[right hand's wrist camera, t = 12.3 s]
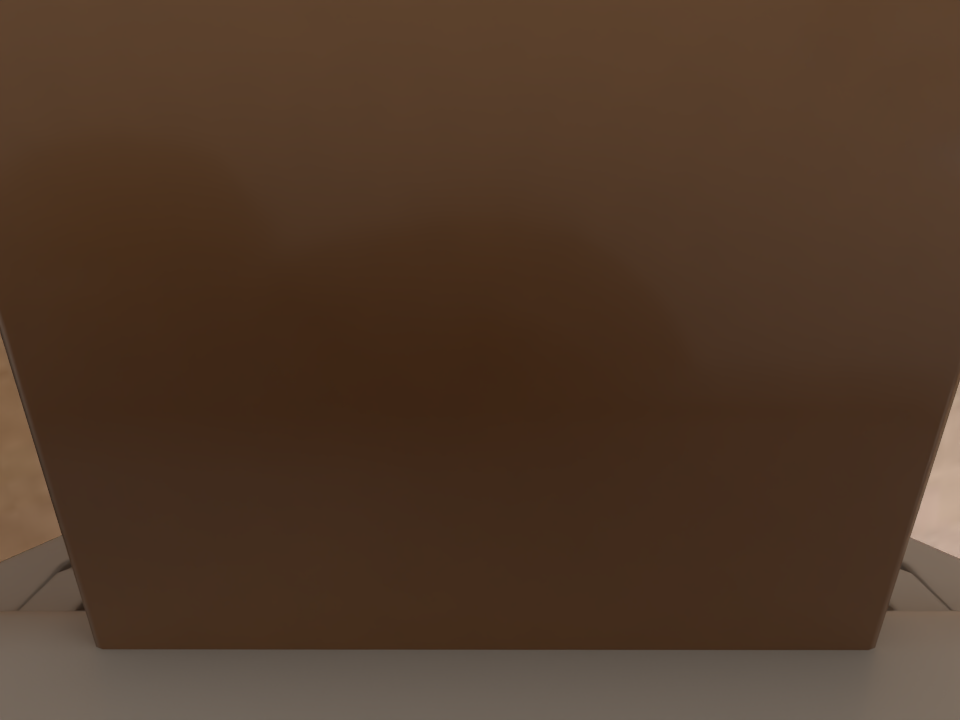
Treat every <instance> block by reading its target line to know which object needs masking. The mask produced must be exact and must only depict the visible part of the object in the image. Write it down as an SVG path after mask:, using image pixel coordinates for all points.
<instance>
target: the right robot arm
mask: <svg viewBox="0 0 960 720" xmlns="http://www.w3.org/2000/svg"><path fill="white" fill-rule="evenodd" d="M0 720H960V559H959V558H957V557H954V556H952V555H950V554H947V553H945V552H943V551H940V550H938V549H936V548H933V547H931V546H929V545H927V544H924V543H922V542H920V541H917V540H915V539H913V538H910V539H909V542H908V545H907V548H906V552H905V555H904V558H903V561H902V564H901V567H900V570H899V574H898V577H897V580H896V583H895V586H894V589H893V593H892V596H891V599H890V602H889V605H888V608H887V611H886V615H885V618H884V621H883V624H882V627H881V630H880V634H879V637H878V640H877V643H876V646H875V648H873V649H870V650H218V649H100V648H98V647H96V644H95V641H94V638H93V635H92V631H91V628H90V625H89V622H88V618H87V615H86V612H85V608H84V605H83V602H82V599H81V595H80V592H79V589H78V585H77V582H76V579H75V576H74V572H73V569H72V566H71V563H70V559H69V556H68V553H67V549H66V546H65V543H64V540H63V536H62V535H61V536H59V537H57V538H55V539H52V540H50V541H48V542H45V543H43V544H41V545H39V546H36V547H34V548H32V549H29V550H27V551H25V552H23V553H20V554H18V555H16V556H13V557H11V558H9V559H7V560H4V561H2V562H0Z"/></svg>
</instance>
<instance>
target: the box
mask: <svg viewBox="0 0 960 720" xmlns="http://www.w3.org/2000/svg"><path fill="white" fill-rule="evenodd" d="M0 333H1V336H2V340H3V343H4V346H5V349H6V353H7V356H8V359H9V363H10V366H11V369H12V372H13V376H14V379H15V382H16V385H17V389H18V392H19V395H20V399H21V402H22V405H23V408H24V412H25V415H26V418H27V422H28V425H29V428H30V431H31V435H32V438H33V441H34V444H35V448H36V451H37V454H38V458H39V461H40V464H41V467H42V471H43V474H44V477H45V481H46V484H47V487H48V490H49V494H50V497H51V500H52V503H53V507H54V510H55V513H56V517H57V520H58V523H59V526H60V530H61V533H62V536H63V540H64V543H65V546H66V549H67V553H68V556H69V559H70V563H71V566H72V569H73V572H74V576H75V579H76V582H77V585H78V589H79V592H80V595H81V599H82V602H83V605H84V608H85V612H86V615H87V618H88V622H89V625H90V628H91V631H92V635H93V638H94V641H95V644H96V647H98V648H100V649H218V650H870V649H873V648H875V646H876V643H877V640H878V637H879V634H880V630H881V627H882V624H883V621H884V618H885V615H886V611H887V608H888V605H889V602H890V599H891V596H892V593H893V589H894V586H895V583H896V580H897V577H898V574H899V570H900V567H901V564H902V561H903V558H904V555H905V552H906V548H907V545H908V542H909V539H910V536H911V533H912V529H913V526H914V523H915V520H916V517H917V514H918V511H919V507H920V504H921V501H922V498H923V495H924V492H925V488H926V485H927V482H928V479H929V476H930V473H931V470H932V466H933V463H934V460H935V457H936V454H937V451H938V447H939V444H940V441H941V438H942V435H943V432H944V429H945V425H946V422H947V419H948V416H949V413H950V410H951V406H952V403H953V400H954V397H955V394H956V391H957V388H958V384H959V381H960V0H0Z"/></svg>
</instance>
